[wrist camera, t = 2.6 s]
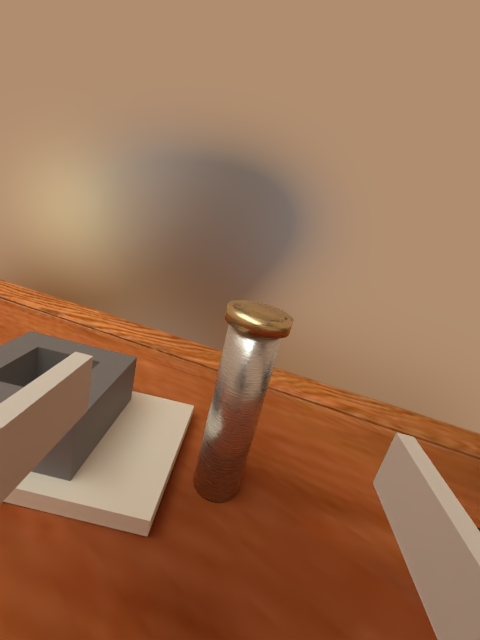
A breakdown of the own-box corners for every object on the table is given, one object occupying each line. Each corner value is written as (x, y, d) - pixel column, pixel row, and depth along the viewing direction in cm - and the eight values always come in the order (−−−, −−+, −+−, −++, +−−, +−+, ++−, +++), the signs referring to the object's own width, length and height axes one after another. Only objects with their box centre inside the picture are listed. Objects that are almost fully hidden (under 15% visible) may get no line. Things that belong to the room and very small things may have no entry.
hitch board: (191, 417, 35) (202, 365, 33) (147, 536, 22) (160, 463, 20) (34, 379, 35) (35, 325, 33) (-104, 475, 22) (-116, 396, 20)
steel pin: (244, 468, 30) (290, 310, 25) (240, 513, 26) (296, 330, 21) (195, 456, 30) (231, 295, 25) (182, 499, 26) (223, 313, 21)
